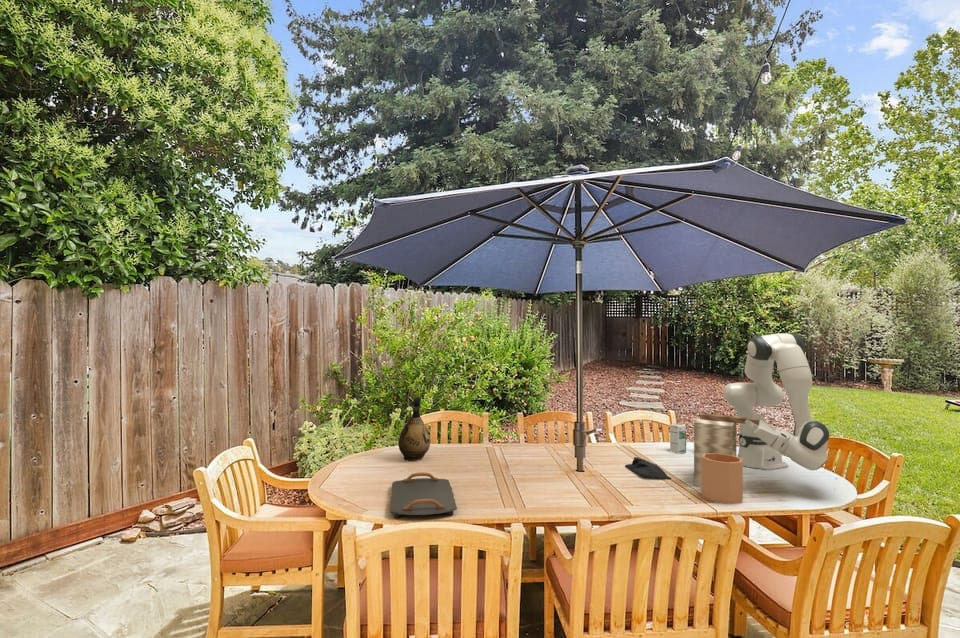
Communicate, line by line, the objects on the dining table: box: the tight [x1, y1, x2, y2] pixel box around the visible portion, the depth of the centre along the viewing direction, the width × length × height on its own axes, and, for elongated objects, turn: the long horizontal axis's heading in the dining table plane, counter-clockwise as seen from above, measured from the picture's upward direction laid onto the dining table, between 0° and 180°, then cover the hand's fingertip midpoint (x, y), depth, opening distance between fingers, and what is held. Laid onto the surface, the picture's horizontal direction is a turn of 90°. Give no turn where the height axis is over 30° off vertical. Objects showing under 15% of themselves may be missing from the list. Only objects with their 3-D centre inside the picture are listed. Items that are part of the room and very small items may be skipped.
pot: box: [700, 453, 744, 505], centre depth 190 cm, size 14×14×15 cm
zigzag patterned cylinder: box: [693, 416, 738, 487], centre depth 209 cm, size 14×22×26 cm, turn 148°
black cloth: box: [625, 456, 672, 480], centre depth 222 cm, size 15×22×5 cm
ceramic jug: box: [398, 395, 431, 462], centre depth 242 cm, size 17×15×30 cm
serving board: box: [389, 472, 458, 519], centre depth 183 cm, size 39×23×6 cm, turn 9°
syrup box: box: [669, 423, 687, 455], centre depth 258 cm, size 6×6×14 cm
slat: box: [699, 412, 759, 425], centre depth 207 cm, size 22×4×2 cm, turn 58°
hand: (745, 419), depth 204 cm, fingers open, 5 cm apart
